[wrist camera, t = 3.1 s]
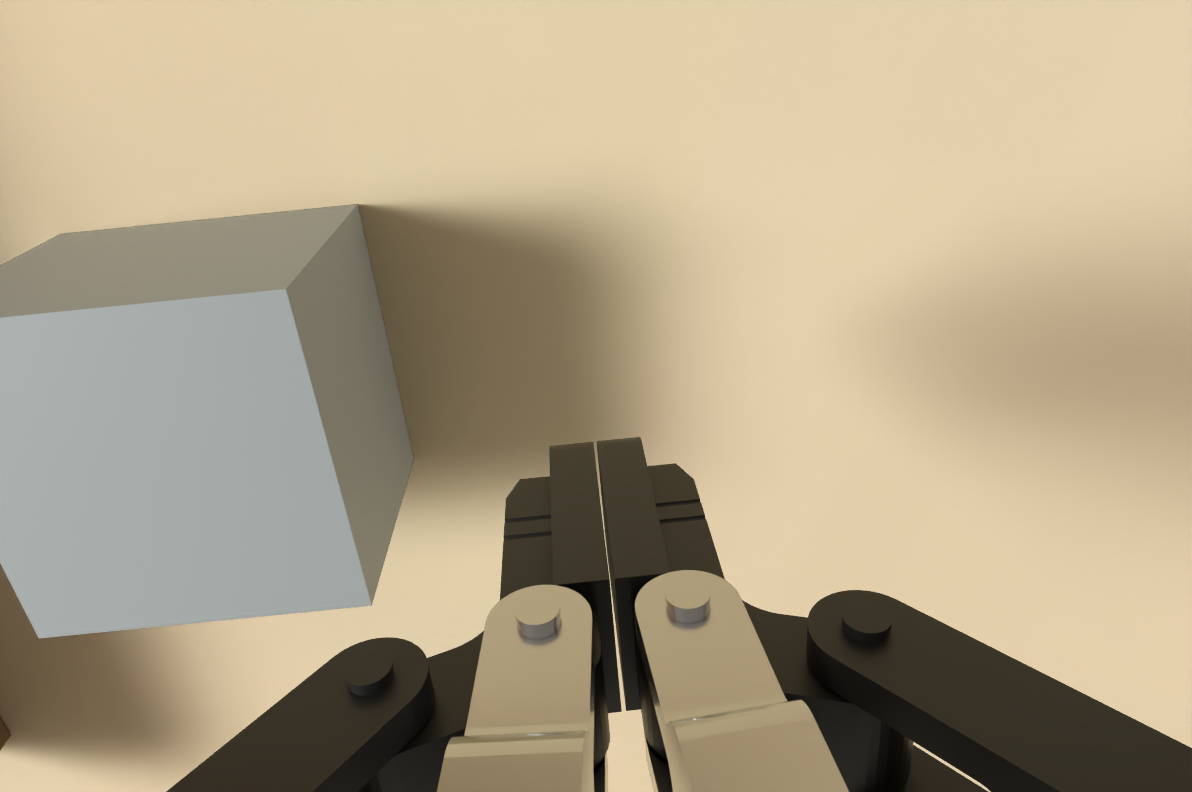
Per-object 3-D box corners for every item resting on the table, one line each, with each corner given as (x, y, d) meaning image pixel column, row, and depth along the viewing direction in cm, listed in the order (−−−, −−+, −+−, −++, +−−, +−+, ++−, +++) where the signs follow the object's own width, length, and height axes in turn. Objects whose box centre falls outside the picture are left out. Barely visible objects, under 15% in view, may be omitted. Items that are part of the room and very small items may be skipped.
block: (358, 202, 20) (285, 289, 14) (414, 457, 23) (371, 605, 18) (62, 232, 20) (-120, 329, 14) (159, 482, 23) (39, 638, 18)
